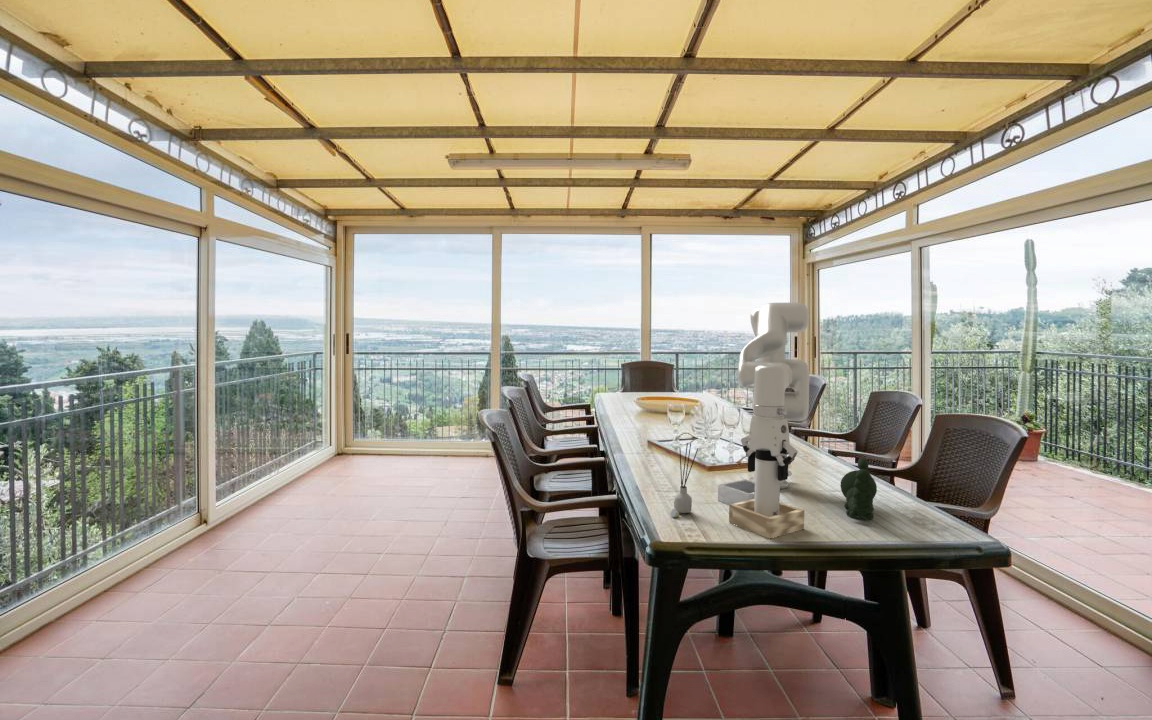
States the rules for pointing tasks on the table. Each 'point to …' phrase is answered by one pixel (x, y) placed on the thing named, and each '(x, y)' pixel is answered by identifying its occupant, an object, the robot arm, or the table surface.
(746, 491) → the open box
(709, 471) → the table surface
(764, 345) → the robot arm
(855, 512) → the toy figurine
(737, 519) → the light wooden tray
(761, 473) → the travel mug
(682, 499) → the reed diffuser
